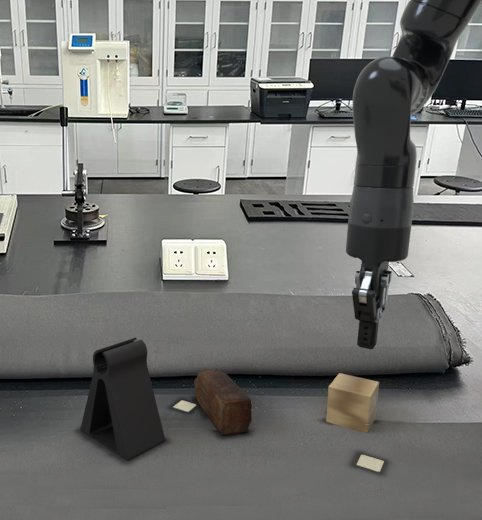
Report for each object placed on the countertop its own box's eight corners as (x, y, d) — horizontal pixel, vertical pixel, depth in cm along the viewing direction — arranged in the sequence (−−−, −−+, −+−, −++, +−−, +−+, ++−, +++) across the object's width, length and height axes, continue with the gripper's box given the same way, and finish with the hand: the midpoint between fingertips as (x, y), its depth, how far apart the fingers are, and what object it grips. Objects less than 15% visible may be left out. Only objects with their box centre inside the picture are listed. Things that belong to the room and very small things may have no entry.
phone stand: (80, 431, 66) (77, 340, 64) (117, 415, 70) (115, 329, 68) (127, 462, 60) (125, 362, 57) (165, 442, 64) (165, 348, 61)
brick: (252, 433, 65) (253, 398, 64) (221, 437, 65) (222, 402, 64) (219, 395, 76) (220, 365, 75) (193, 399, 75) (193, 367, 74)
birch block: (376, 417, 69) (379, 381, 68) (367, 434, 65) (370, 396, 64) (336, 407, 72) (339, 372, 71) (325, 422, 68) (328, 386, 67)
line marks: (384, 462, 59) (384, 461, 59) (379, 473, 57) (379, 471, 57) (181, 401, 74) (181, 400, 74) (172, 408, 72) (172, 406, 72)
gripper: (402, 230, 62) (387, 369, 65) (418, 218, 72) (404, 338, 76) (336, 224, 66) (324, 355, 70) (360, 213, 77) (349, 328, 80)
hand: (366, 346), depth 73 cm, fingers closed
